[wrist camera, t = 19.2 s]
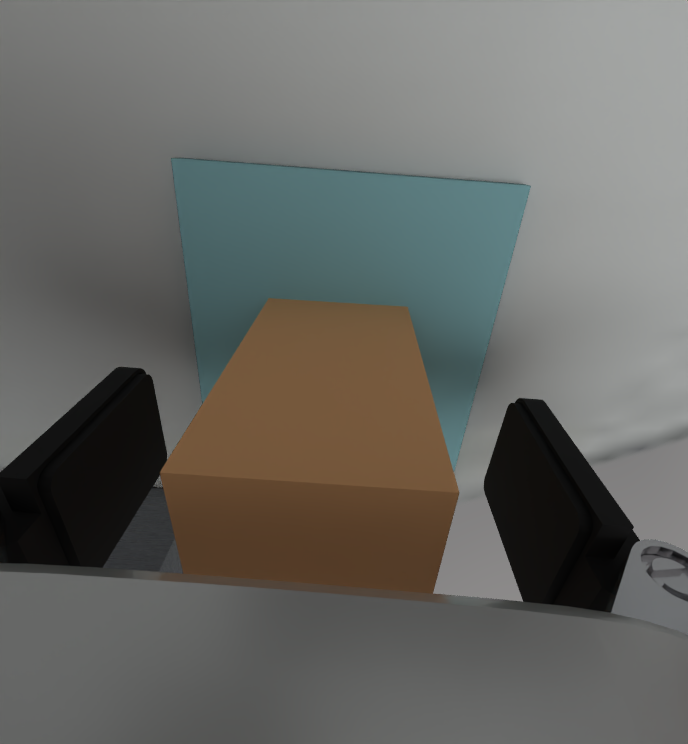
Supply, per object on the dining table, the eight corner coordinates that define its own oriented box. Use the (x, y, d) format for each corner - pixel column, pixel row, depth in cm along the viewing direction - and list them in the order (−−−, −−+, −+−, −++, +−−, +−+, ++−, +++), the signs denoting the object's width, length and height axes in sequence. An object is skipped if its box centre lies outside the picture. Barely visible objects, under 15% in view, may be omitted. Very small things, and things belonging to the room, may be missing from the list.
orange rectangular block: (268, 298, 13) (159, 472, 6) (407, 306, 13) (459, 492, 6) (273, 412, 15) (197, 636, 8) (392, 419, 15) (417, 651, 8)
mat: (179, 157, 12) (171, 158, 11) (523, 184, 12) (530, 185, 11) (216, 468, 18) (211, 478, 17) (444, 486, 18) (447, 496, 17)
